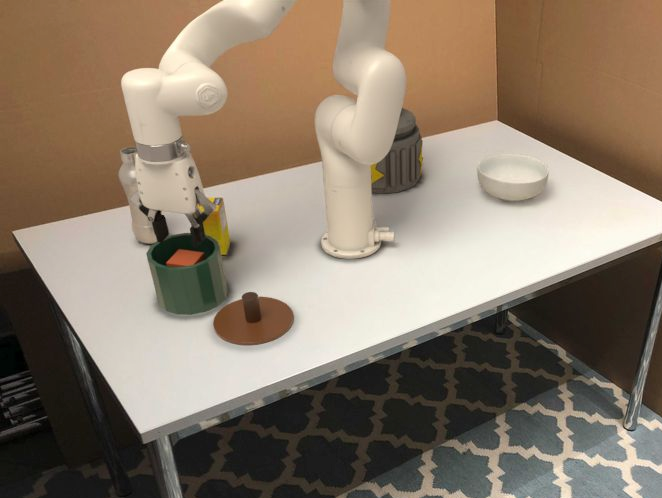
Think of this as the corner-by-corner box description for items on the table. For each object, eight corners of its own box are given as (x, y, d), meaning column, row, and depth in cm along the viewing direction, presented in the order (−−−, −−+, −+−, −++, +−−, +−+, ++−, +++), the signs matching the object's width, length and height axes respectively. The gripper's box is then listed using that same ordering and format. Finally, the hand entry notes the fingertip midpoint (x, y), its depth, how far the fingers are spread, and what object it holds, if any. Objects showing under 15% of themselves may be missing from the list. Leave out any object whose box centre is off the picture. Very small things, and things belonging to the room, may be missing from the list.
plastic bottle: (159, 249, 159) (137, 159, 147) (129, 244, 160) (104, 155, 147) (174, 234, 164) (154, 145, 152) (145, 230, 165) (123, 141, 152)
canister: (234, 280, 151) (225, 233, 145) (219, 317, 142) (210, 269, 135) (169, 278, 151) (158, 232, 144) (150, 316, 141) (137, 268, 134)
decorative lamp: (356, 158, 197) (350, 37, 178) (428, 165, 196) (429, 44, 177) (336, 191, 182) (327, 63, 164) (414, 199, 181) (414, 71, 162)
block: (208, 275, 145) (204, 252, 142) (196, 289, 142) (191, 266, 138) (184, 271, 146) (179, 248, 143) (171, 285, 142) (165, 262, 139)
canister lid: (299, 302, 146) (295, 275, 142) (287, 348, 135) (283, 320, 131) (224, 300, 146) (218, 273, 142) (205, 347, 135) (199, 318, 131)
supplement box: (202, 243, 162) (193, 196, 155) (231, 243, 162) (223, 196, 155) (197, 258, 157) (187, 211, 150) (227, 258, 157) (218, 211, 151)
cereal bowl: (557, 191, 187) (561, 164, 183) (525, 218, 176) (527, 190, 171) (498, 172, 194) (500, 146, 189) (462, 197, 183) (464, 169, 178)
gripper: (219, 144, 129) (235, 237, 140) (124, 132, 131) (147, 225, 142) (199, 162, 123) (217, 258, 135) (100, 150, 125) (126, 245, 137)
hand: (181, 240), depth 138 cm, fingers open, 6 cm apart
